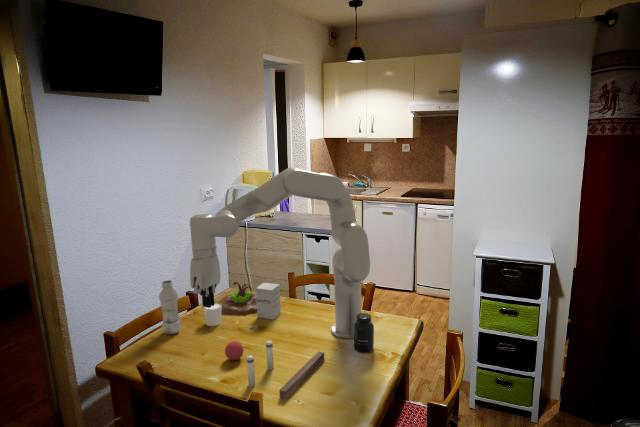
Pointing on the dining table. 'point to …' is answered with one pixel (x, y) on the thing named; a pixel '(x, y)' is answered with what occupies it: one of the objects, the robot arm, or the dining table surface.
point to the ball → (234, 350)
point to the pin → (269, 355)
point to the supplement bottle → (363, 333)
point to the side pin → (250, 370)
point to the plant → (239, 301)
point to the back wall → (301, 375)
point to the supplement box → (268, 300)
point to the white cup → (213, 315)
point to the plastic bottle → (169, 308)
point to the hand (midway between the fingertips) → (208, 305)
